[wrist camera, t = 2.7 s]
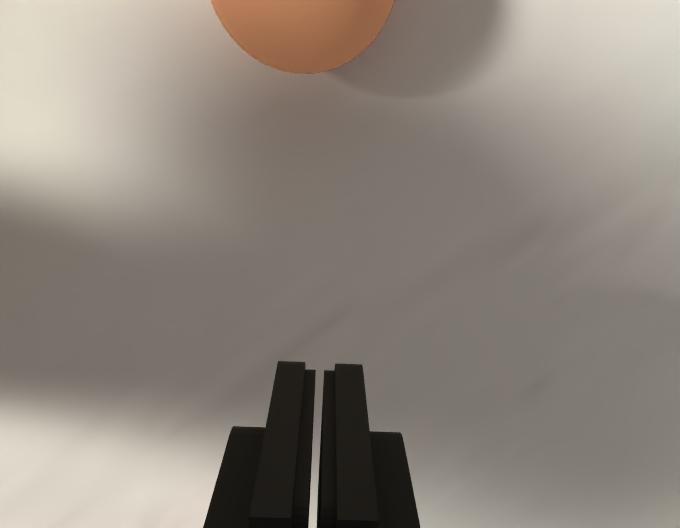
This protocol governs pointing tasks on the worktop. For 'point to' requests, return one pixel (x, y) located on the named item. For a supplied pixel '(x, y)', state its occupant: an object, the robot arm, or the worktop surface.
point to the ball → (303, 30)
